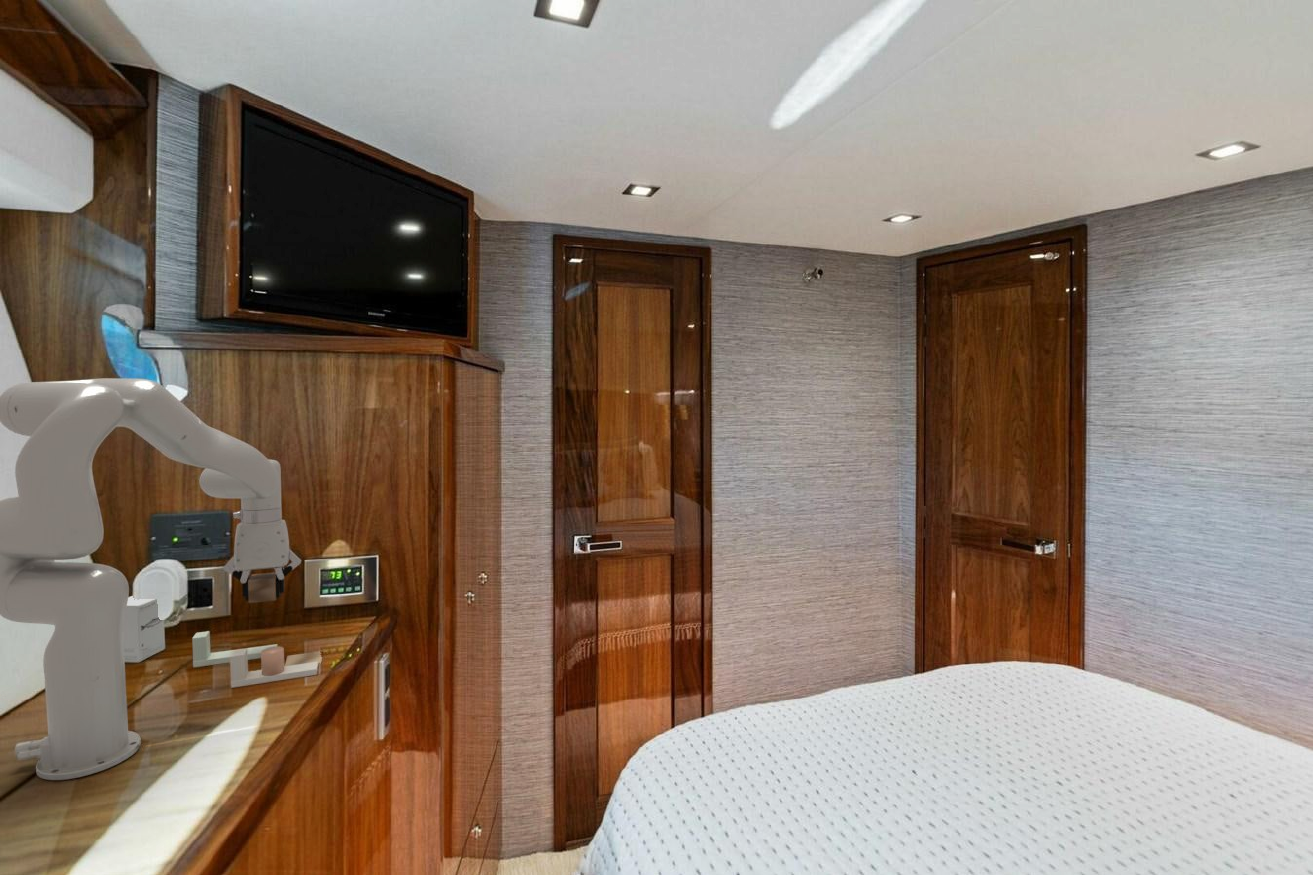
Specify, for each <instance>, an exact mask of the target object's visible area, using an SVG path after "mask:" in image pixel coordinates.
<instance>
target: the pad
mask: <svg viewBox="0 0 1313 875" xmlns="http://www.w3.org/2000/svg"><path fill="white" fill-rule="evenodd" d="M320 651H321V650H320ZM320 651H312V652H305V653H299V654H292V655H291V654H290V655H287V656H286V660H285V662H284V666H291V665H297V664H304V663H311V662H318V665H321V664H322V663H321V662H323V657H321V655H320V654H321V653H320ZM320 663H321V664H320Z"/></svg>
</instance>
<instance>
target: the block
mask: <svg viewBox="0 0 1313 875" xmlns="http://www.w3.org/2000/svg"><path fill="white" fill-rule="evenodd" d="M250 575H251V576H249V580H248V597H249V601H248V604H252V603H253V604H254V603H263V602H273V601H275V602H276V600H277V598H276V580H277V574H276V572H266V573H255V574H253V573H252V574H250Z"/></svg>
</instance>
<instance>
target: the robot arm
mask: <svg viewBox="0 0 1313 875" xmlns="http://www.w3.org/2000/svg"><path fill="white" fill-rule="evenodd" d="M0 423H1V424H2V425H3V426H4V427H5V428H6V429H7V430H9V431H10V432H13V433H14V434H17V435H21V436H24V437H25V436H27V437H29V438H28V439H27V440H26V442H25V444H23V447H22V448H21V450H20V452H19V454H18V456H17V459H16V462H15V468H14V469H15V470H14V471H15V472H14V474H15V475H14V476H15V482H16V488H17V495H18V496H14V497H8V498H5V499H1V500H0V616H1V617H2V618H4V619H6V620H9V621H12V622H16V623H24V624H38V625H42V624H43V625H53V626H54V631H53V633H52V635H51V637H50V640H49V641H48V643H47V645H46V647H45V649H44V653H43V659H42V660H43V661H42V662H43V664H42V665H43V674H44V675H43V676H44V690H45V706H46V708H45V709H46V721H47V724H46V725H47V736H44V737H42V739H38V740H34V739H33V740H27V741H21V742H20V741H19V742H18V743H16V744H15V745H14V746H15V747H14V755H15V757H17V761H18V762H20V761H26V760H30V759H35V758H37V759H38V761H37V763H36V765H35V773H36V776H37V777H38V778H40V779H43V780H48V781H65V780H73V779H77V778H78V779H79V778H82V777H85V776H89V775H93V774H96V773H99V772H102V771H105V770H107V769H110V768H113V767H115V766H116V765H118V764H120V763H122V762H123V761H125V760H127V759H129V758H130V757H132V756H133V755H134V754H135V753H137V751H138V750H139V749H140V748H141V743H142V739H141V736H140V734H139V733H137V732H135V731H132V730H129V723H128V722H129V720H128V717H129V716H128V701H127V684H126V665H125V663H126V662H125V661H124V643H123V628H124V617H125V611H126V606H127V602H128V597H130V596H129V595H130V594H129V593H130V587H129V581H128V580H127V578H126V576H125V575H124V574H123V573H122V572H121V571H120V570H119V569H117V568H114V567H112V566H110V565H106V564H102V563H94V562H78V561H77V562H74V561H72V562H71V561H66V562H62V561H64V560H75V559H80V558H85V557H87V556H90V555H91V554H93V553H94V552H96V551H97V550H98V549H99V548H100V546H101V545H102V543H103V540H104V521H103V518H102V513H101V508H100V504H99V499H98V494H97V490H96V485H95V482H94V474H93V460H94V457H95V455H96V453H97V450H98V448H99V447H100V446H101V444H102V443H103V442H104V440H105V439H106V438H107V437H108V436H109V435H110V434H111V433H112V431H114V429H116V428H117V427H118V428H120V427H121V428H127V429H130V430H132V432H134V433H136V434H137V435H138V436H139V437H140V438H142V439H143V440H145V441H146V442H147V443H148V444H149V445H151V446H152V447H154V448H155V449H156V450H157V451H158V452H161V454H162V455H163V456H165V457H166V458H168V459H169V460H173V461H174V462H178V463H182V464H183V465H184V464H185V465H188V466H192V467H193V466H194V467H198V468H203V471H202V472H201V474H200V476H199V480H198V482H199V487H200V489H201V490H202V492H204V493H205V495H207V496H209V497H212V498H218V499H234V500H235V499H240V508H241V509H240V510H238V511H234V512H233V519H238V520H239V521H240V522H238V523H237V525H236V528H235V534H234V535H235V536H234V548H233V553H234V554H233V556H232V557H231V558H230V559H229V560H228V561H227V563H226V564H225V565H224V566H223V567H222V570H223V571H224V572H226V573H228V574H230V575H232V576H233V577H234V578H235V579H237V580H238V581H240V583H241V585H242V586H241V588H242V591H241V592H242V597H243V598H245V602H249V597H248V580H249V578H250V575H251V571H257V570H258V571H259V570H267V569H268V570H271V569H274V571H275V573H276V574H277V580H276V599H280V598H281V596H282V594H283V593H284V592H285V578H286V576H287V575H289V574H290V573H291V572H292V571H293V570H294V569H296V568H297V567H298V566H299V565H300V564H301V563H302V559H301V558H299V557H298V556H297V555H296V554H295V552H293V551H292V550H291V548H290V539H289V532H288V527H287V523H286V520H285V519H282V518H283V516H282V515H283V512H282V508H283V507H282V476H281V475H282V472H281V471H282V468H281V464H280V462H279V461H278V460H276V459H268V458H267V457H266V456H265V455H264V454H263V452H261V451H260V450H259V449H257V448H255V447H254V446H252V445H250V444H249V443H247V442H245V441H243V440H240V439H238V438H236V437H234V436H232V435H230V434H228V433H226V432H224V431H222V430H219V429H216V428H214V427H212V426H209V425H208V424H206V423H205V422H204V421H202V420H201V419H200V418H199V417H198V416H197V415H196V414H195V413H194V412H192V410H190V409H189V407H187V406H186V405H185V404H183V402H182V401H180V400H179V398H177V397H176V396H175V395H173V394H172V393H171V392H170V391H169V389H167V388H166V387H164V386H163V385H162V384H160V383H158V382H156V381H155V380H151V379H146V378H115V377H114V378H113V377H110V378H109V377H108V378H103V377H102V378H89V379H75V380H57V381H54V380H53V381H34V382H32V381H28V382H22V383H18V384H15V385H13V386H11V387H9V388H7V389H6V390H5V391H3V392H2V393H1V395H0ZM58 560H59V561H58ZM289 561H291V563H289ZM285 566H286V567H285Z"/></svg>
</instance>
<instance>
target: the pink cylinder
mask: <svg viewBox="0 0 1313 875" xmlns="http://www.w3.org/2000/svg"><path fill="white" fill-rule="evenodd" d="M260 662H261V663H260V664H261V665H260V666H261V669H260V670H262V675H263V676H273V675H277V674H280V673H282V672H283V671H284V666H285V648H284V647H283V646H278V645H277V646H276V647H270V648H266V649H264V650H262V651H261V658H260Z"/></svg>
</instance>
